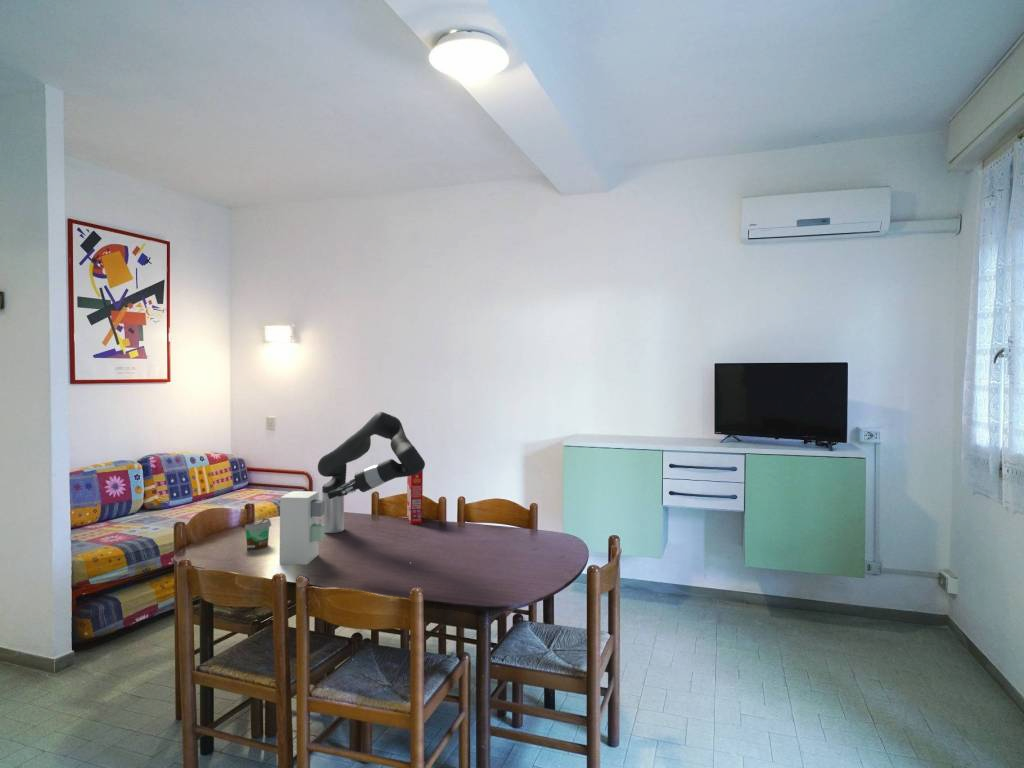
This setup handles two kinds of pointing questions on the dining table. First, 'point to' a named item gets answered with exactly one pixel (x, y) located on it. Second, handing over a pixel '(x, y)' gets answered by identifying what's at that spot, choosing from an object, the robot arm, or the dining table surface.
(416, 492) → the food packaging
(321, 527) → the sage key
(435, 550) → the dining table surface
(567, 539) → the dining table surface
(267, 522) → the food container
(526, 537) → the dining table surface
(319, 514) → the grey square block
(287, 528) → the key tower
